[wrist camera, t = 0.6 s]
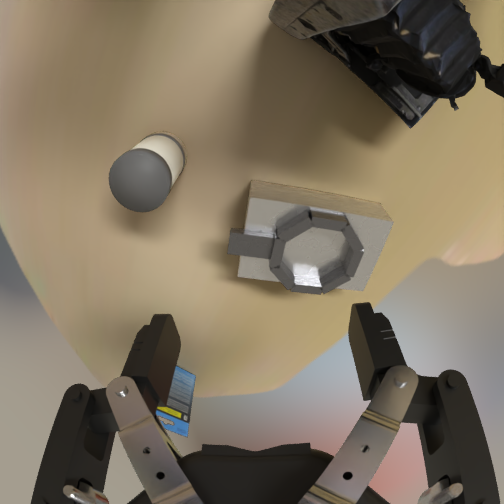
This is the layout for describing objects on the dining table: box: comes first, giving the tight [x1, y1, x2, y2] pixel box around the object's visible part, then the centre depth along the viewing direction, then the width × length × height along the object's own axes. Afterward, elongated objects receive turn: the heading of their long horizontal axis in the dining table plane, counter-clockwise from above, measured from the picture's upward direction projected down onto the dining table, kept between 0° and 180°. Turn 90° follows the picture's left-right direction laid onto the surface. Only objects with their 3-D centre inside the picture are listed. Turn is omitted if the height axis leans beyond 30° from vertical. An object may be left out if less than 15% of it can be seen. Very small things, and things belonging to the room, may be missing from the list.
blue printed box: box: [156, 366, 196, 437], centre depth 44 cm, size 9×4×12 cm, turn 45°
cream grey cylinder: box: [109, 132, 187, 212], centre depth 25 cm, size 5×5×7 cm
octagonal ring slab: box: [227, 180, 394, 295], centre depth 30 cm, size 9×15×6 cm, turn 82°
